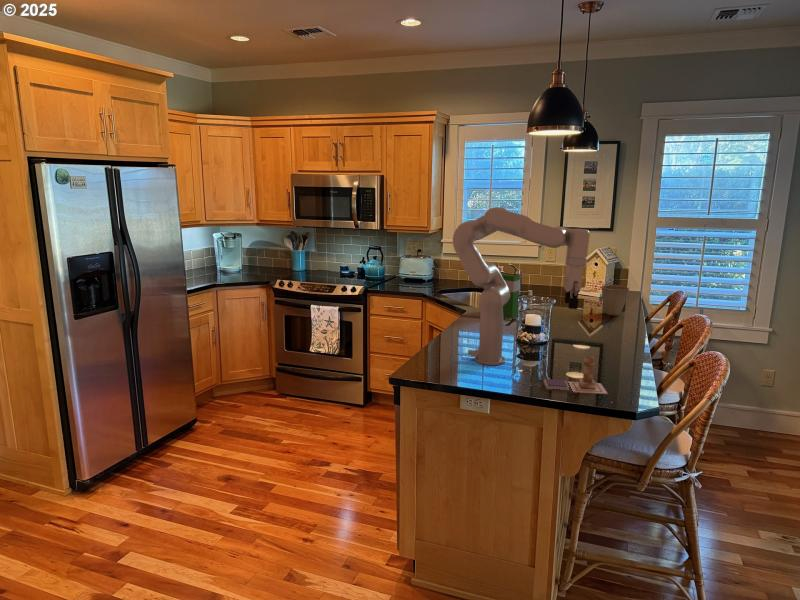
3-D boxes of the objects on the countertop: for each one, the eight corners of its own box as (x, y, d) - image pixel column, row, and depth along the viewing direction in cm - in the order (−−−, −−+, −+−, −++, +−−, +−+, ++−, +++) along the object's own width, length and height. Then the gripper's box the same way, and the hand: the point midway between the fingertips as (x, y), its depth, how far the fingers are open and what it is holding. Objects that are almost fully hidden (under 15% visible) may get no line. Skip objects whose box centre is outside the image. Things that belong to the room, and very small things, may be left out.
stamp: (581, 388, 190) (583, 357, 188) (578, 384, 194) (581, 354, 192) (595, 389, 190) (598, 358, 187) (592, 385, 194) (595, 355, 191)
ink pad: (546, 389, 191) (546, 385, 190) (543, 382, 197) (543, 378, 197) (569, 390, 190) (569, 386, 189) (565, 383, 196) (565, 379, 196)
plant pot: (595, 314, 307) (597, 287, 304) (604, 310, 318) (607, 284, 315) (621, 318, 297) (624, 290, 294) (630, 313, 308) (633, 287, 305)
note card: (572, 392, 188) (572, 391, 188) (567, 382, 198) (567, 381, 198) (607, 394, 187) (607, 393, 187) (600, 383, 196) (600, 382, 196)
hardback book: (484, 313, 305) (485, 272, 300) (490, 311, 311) (492, 271, 306) (511, 318, 295) (514, 276, 290) (517, 316, 300) (520, 274, 295)
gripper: (562, 258, 207) (557, 300, 211) (569, 264, 191) (563, 310, 195) (582, 259, 206) (577, 301, 210) (590, 265, 190) (584, 311, 193)
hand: (570, 305), depth 202 cm, fingers open, 9 cm apart
